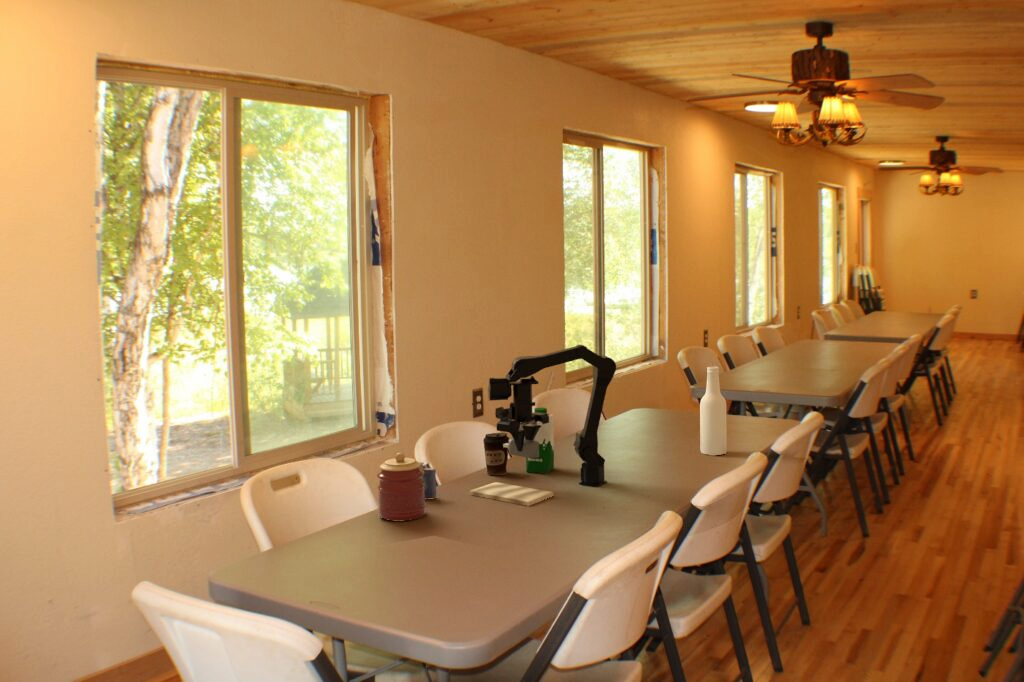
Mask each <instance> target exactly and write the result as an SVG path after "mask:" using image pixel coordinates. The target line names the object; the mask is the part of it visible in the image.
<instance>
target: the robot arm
mask: <svg viewBox="0 0 1024 682" xmlns="http://www.w3.org/2000/svg"><path fill="white" fill-rule="evenodd" d="M577 360H583V361H585V362H587V363H588V364H589V365H591V366H592V389H591V393H590V396H589V397H590V398H589V402H588V408H587V411H586V417H585V421H584V426H583V428H582V430H581V432H580V433H579V432H576V433H575V440H574V442H573V444H572V445H573V446H574V451H575V453H576V455H577V456H578V457H579V458H580V459H581V461H582V462H581V467H580V482H578V484H579V485H581V486H582V485H583V486H588V487H589V486H590V487H593V488H594V487H595V488H596V487H599V486H602V485H605V484H607V483H608V480H605V462H606V460H605V458H604V457H603V456H602V455H601V454H600V453H599V452H598V449H599V438H598V429H599V426H600V422H601V416H602V412H603V408H604V403H605V399H606V394H607V389H608V387H609V385H610V384H611V382H612V380H613V378H614V375H615V373H616V371H617V363H616V362H615V360H614V359H613V358H611V357H608V356H607V355H599V354H597V353H596V352H594V351H592V350H591V349H589V348H588V347H587V346H586V345H584V344H577V345H575V346H573V347H568V348H565V349H560V350H556V351H553V352H548V353H545V354H542V355H527V356H526V355H525V356H523V355H522V356H517V357H515V358H514V359H513V360H512V362H511V368H510V370H509V371H508V372H507V374H506V375H505V376H504V377H489V378H488V387H487V396H488V397H487V398H488V401H508V400H509V398H510V397H512V400H513V401H512V402H510V403H509V407H507V408H504V407H503V406H501V407H496V408H495V418H496V419H498V420H499V421H498V422H497V423H496V432H497V431H498V432H502V433H508V434H510V435H511V437H512V438H513V439H514V442H515V444H516V447H517V450H518V451H519V452H521V451H522V448H523V443H524V439H525V440H532V441H533V440H534V438H535V436H536V434H537V432H538V430H539V428H541V425H538V423H537V422H538V421H539V422H542V424H546V423H549V416H548V415H547V414H548V412H547V413H538V412H535V411H533V407H535V406H536V401H533V385H539V383H540V382H539V381H538V380H536V378H535V376H534V375H535V374H537V373H538V372H541V371H543V370H544V369H547V368H550V367H551V368H552V367H554V366H558V365H559V366H560V365H562V364H566V363H569V362H574V361H577ZM606 482H607V483H606ZM604 483H605V484H604Z"/></svg>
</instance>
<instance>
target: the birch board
mask: <svg viewBox="0 0 1024 682" xmlns="http://www.w3.org/2000/svg"><path fill="white" fill-rule="evenodd" d="M469 495H470V496H473V495H474V497H479V496H480V498H484V497H485V498H484V499H489V498H490V500H494V499H496V500H495V501H500V502H501V501H502V502H506V503H510V504H517V505H520V506H526V505H527V507H529V506H532V505H535V504H537V503H540V502H542V500H543V501H545V500H547V498H548V499H550V498H552V496H553V497H554V492H553V491H549V490H542V489H536V488H531V487H525V486H520V485H513V484H509V483H503V482H497V481H494V482H492V483H489V484H486V485H483V486H479V487H477V488H474V489H471V490H469ZM549 497H550V498H549ZM544 499H545V500H544Z"/></svg>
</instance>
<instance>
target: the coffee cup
mask: <svg viewBox="0 0 1024 682" xmlns="http://www.w3.org/2000/svg"><path fill="white" fill-rule="evenodd" d="M509 439H510V437H509V436H508V433H507V432H492V433H486V434H485V437H484V438H483V448H484V458H485V464H486V472H487V475H489V476H504V475H507V474H508V471H507V464H508V459H509V448H506V447H503V444H506V443H509Z"/></svg>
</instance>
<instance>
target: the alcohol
mask: <svg viewBox="0 0 1024 682" xmlns="http://www.w3.org/2000/svg"><path fill="white" fill-rule="evenodd" d="M706 369H707V370H706V373H707V374H706V387H705V393H704V395H703V396H702V397H701V399H700V403H699V421H700V422H699V425H700V426H699V427H700V428H699V429H700V430H699V436H700V437H699V441H700V442H699V443H700V444H699V446H700V451H699V452H700V453H701V454H702V453H703V454H709V455H720V454H725V455H726V453H727V448H728V447H727V446H728V445H727V433H728V432H727V428H728V427H727V401H726V398H725V397H724V396H723V395H722V393H721V388H720V387H721V384H720V377H719V376H720V375H719V372H720V370H719V369H720V367H718V366H715V365H714V366H713V365H712V366H707V367H706ZM703 454H702V455H703Z"/></svg>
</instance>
